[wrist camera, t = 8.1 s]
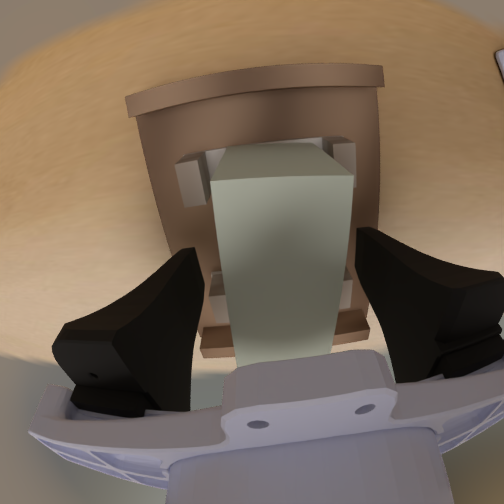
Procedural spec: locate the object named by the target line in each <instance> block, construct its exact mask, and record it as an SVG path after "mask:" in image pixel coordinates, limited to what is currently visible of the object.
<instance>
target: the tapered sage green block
mask: <svg viewBox="0 0 504 504" xmlns="http://www.w3.org/2000/svg"><path fill="white" fill-rule="evenodd" d="M353 183H354V175H353V174H351V173H350V172H349V171H348V170H347V169H345V168H344V167H343V166H342V165H340V164H339V163H338V162H337V161H335V160H334V159H333V158H332V157H330V156H329V155H328V154H327V153H325V152H324V151H323V150H321V149H320V148H319V147H317V146H316V145H315V144H313V143H270V144H250V145H236V146H228V147H227V148H226V150H225V152H224V154H223V156H222V158H221V160H220V162H219V164H218V166H217V168H216V170H215V172H214V174H213V176H212V178H211V180H210V185H211V193H212V201H213V209H214V217H215V225H216V232H217V240H218V247H219V254H220V261H221V268H222V275H223V282H224V289H225V295H226V302H227V308H228V315H229V321H230V327H231V333H232V339H233V345H234V351H235V357H236V363H237V368H238V367H241V366H246V365H250V364H254V363H258V362H269V361H279V360H288V359H296V358H304V357H311V356H318V355H325V354H330V353H331V348H332V343H333V338H334V333H335V328H336V322H337V317H338V311H339V305H340V299H341V293H342V286H343V280H344V273H345V265H346V258H347V249H348V241H349V231H350V221H351V210H352V198H353Z"/></svg>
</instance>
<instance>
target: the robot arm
mask: <svg viewBox="0 0 504 504" xmlns="http://www.w3.org/2000/svg"><path fill="white" fill-rule="evenodd" d="M496 59H497V62H498V64H499V67H500V69H501V72H502V75H503V78H504V49H502V50H500V51H497V52H496ZM354 267H355V270H356V273H357V276H358V279H359V281H360V284H361V286H362V288H363V290H364V292H365V294H366V296H367V298H368V300H369V302H370V304H371V306H372V308H373V310H374V312H375V314H376V316H377V318H378V321H379V323H380V326H381V328H382V331H383V334H384V337H385V341H386V344H387V347H388V351H389V355H390V358H391V362H392V367H393V371H394V376H395V381H396V383H394V381H393V378H392V375H391V372H390V370H389V368H388V365H387V362H386V359H385V357H384V356H383V355H381V354H379V353H378V352H376V351H374V350H349V351H343V352H337V353H331V354H325V355H318V356H311V357H304V358H296V359H288V360H279V361H269V362H258V363H254V364H250V365H246V366H241V367H238V368H236V369H235V370H234V371H233V372H231V373H230V374H229V375H227V376H226V377H225V378H224V386H223V399H222V405H221V406H216V407H211V408H206V409H200V410H194V411H190V392H191V370H192V358H193V348H194V342H195V338H196V333H197V329H198V325H199V320H200V316H201V312H202V307H203V303H204V292H205V282H204V279H203V275H202V271H201V268H200V264H199V261H198V257H197V253H196V249H195V247H190V248H183V249H181V250H179V251H178V252H177V253H176V254H175V255H173V256H172V257H171V258H170V259H169V260H168V261H167V262H166V263H165V264H164V265H162V266H161V267H160V268H159V269H158V270H157V271H156V272H155V273H153V274H152V275H151V276H150V277H149V278H147V279H146V280H145V281H144V282H143V283H141V284H140V285H139V286H138V287H136V288H135V289H133V290H132V291H131V292H129V293H128V294H126V295H125V296H123V297H121V298H120V299H118V300H116V301H115V302H113V303H111V304H110V305H108V306H106V307H104V308H102V309H100V310H98V311H96V312H94V313H91V314H89V315H87V316H85V317H82V318H79V319H76V320H74V321H71V322H68V323H65V324H64V326H63V327H62V329H61V331H60V333H59V334H58V336H57V338H56V340H55V341H54V343H53V345H52V352H53V355H54V357H55V360H56V361H57V362H58V364H59V365H60V367H61V368H62V369H63V370H64V371H65V373H66V374H67V375H68V376H69V377H70V378H71V380H72V381H73V382H74V383H75V384H76V386H75V388H74V391H72V390H71V389H69V388H67V387H63V386H58V385H53V384H48V385H47V387H46V389H45V391H44V393H43V395H42V397H41V400H40V402H39V405H38V407H37V409H36V411H35V414H34V416H33V419H32V421H31V423H30V426H29V429H28V432H29V434H31V435H32V436H33V437H35V438H36V439H37V440H39V441H40V442H41V443H43V444H44V445H45V446H47V447H48V448H50V449H51V450H52V451H54V452H55V453H57V454H58V455H60V456H62V457H63V458H64V459H66V460H68V461H71V462H74V463H77V464H79V465H82V466H85V467H88V468H90V469H93V470H97V471H99V472H103V473H105V474H108V475H111V476H115V477H118V478H121V479H125V480H128V481H132V482H135V483H139V484H143V485H148V486H152V487H156V488H160V489H165V490H167V495H166V503H165V504H454V500H453V496H452V492H451V488H450V484H449V480H448V476H447V473H446V470H445V466H444V462H443V459H442V456H441V454H443V453H445V452H447V451H449V450H451V449H453V448H455V447H456V446H458V445H460V444H462V443H464V442H466V441H467V440H469V439H471V438H472V437H474V436H476V435H478V434H479V433H481V432H482V431H484V430H486V429H487V428H489V427H490V426H492V425H493V424H495V423H497V422H498V421H500V420H501V419H503V418H504V340H503V339H502V337H501V336H500V335H499V334H501V332H502V328H501V327H500V325H499V324H498V323H499V321H500V319H501V317H502V315H503V313H504V277H503V276H502V275H501V274H500V273H499V272H495V271H486V270H478V269H473V268H468V267H463V266H459V265H455V264H452V263H449V262H445V261H442V260H439V259H436V258H434V257H431V256H429V255H426V254H424V253H421V252H419V251H417V250H415V249H413V248H411V247H409V246H407V245H405V244H403V243H401V242H399V241H397V240H395V239H393V238H392V237H390V236H388V235H386V234H384V233H382V232H380V231H378V230H376V229H374V228H372V227H369V226H368V227H359V228H356V249H355V265H354Z"/></svg>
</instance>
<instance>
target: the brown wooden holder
mask: <svg viewBox="0 0 504 504" xmlns="http://www.w3.org/2000/svg"><path fill="white" fill-rule="evenodd" d="M376 87H385V85H384V75H383V67H382V66H380V65H367V64H347V63H309V64H288V65H275V66H264V67H255V68H247V69H240V70H233V71H227V72H221V73H215V74H210V75H205V76H200V77H195V78H190V79H186V80H182V81H177V82H173V83H169V84H166V85H162V86H158V87H155V88H151V89H148V90H145V91H141V92H138V93H135V94H132V95H129V96H126V97H125V100H126V105H127V111H128V116H129V118H130V117H135V116H136V120H137V125H138V129H139V134H140V139H141V143H142V148H143V152H144V156H145V161H146V165H147V169H148V173H149V177H150V181H151V185H152V189H153V192H154V196H155V200H156V204H157V207H158V211H159V214H160V218H161V221H162V225H163V228H164V232H165V235H166V238H167V242H168V245H169V248H170V251H171V255H172V256H173V255H175V254H176V253H177V252H178V251H179V250H181V249H183V248H190V247H195V249H196V253H197V257H198V261H199V264H200V268H201V271H202V275H203V279H204V282H205V292H204V303H203V307H202V312H201V316H200V320H199V325H198V329H197V330H198V332H199V335H200V337H202V339H201V345H200V351H201V353H202V355H203V358H221V357H235V351H234V345H233V339H232V333H231V327H230V321H229V315H228V308H227V302H226V295H225V289H224V282H223V275H222V268H221V261H220V254H219V247H218V240H217V232H216V225H215V217H214V209H213V201H212V193H211V185H210V180H211V178H212V176H213V174H214V172H215V170H216V168H217V166H218V164H219V162H220V160H221V158H222V156H223V154H224V152H225V150H226V148H227V147H228V146H236V145H250V144H270V143H313V144H315V145H316V146H317V147H319V148H320V149H321V150H323V151H324V152H325V153H327V154H328V155H329V156H330V157H332V158H333V159H334V160H335V161H337V162H338V163H339V164H340V165H342V166H343V167H344V168H345V169H347V170H348V171H349V172H350V173H351V174H353V175H354V183H353V198H352V210H351V221H350V231H349V241H348V249H347V258H346V265H345V273H344V280H343V286H342V293H341V299H340V305H339V311H338V317H337V322H336V328H335V333H334V338H333V343H332V346H333V345H339V344H345V343H351V342H356V341H362V340H367V339H368V337H369V332H370V327H369V325H368V323H367V320H366V318H367V312H368V306H369V300H368V298H367V296H366V294H365V292H364V290H363V288H362V286H361V284H360V281H359V279H358V276H357V273H356V270H355V267H354V265H355V249H356V228H359V227H368V226H369V227H372V228H374V229H376V230H377V229H378V214H379V192H380V136H379V114H378V100H377V88H376Z"/></svg>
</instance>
